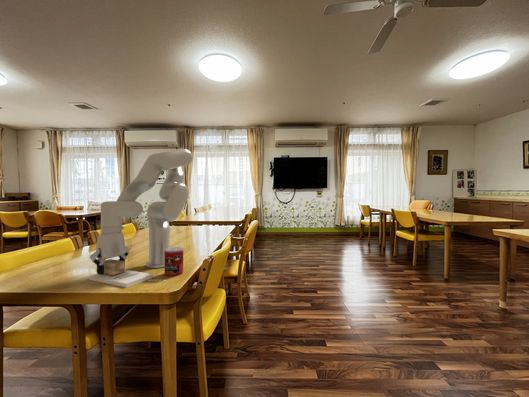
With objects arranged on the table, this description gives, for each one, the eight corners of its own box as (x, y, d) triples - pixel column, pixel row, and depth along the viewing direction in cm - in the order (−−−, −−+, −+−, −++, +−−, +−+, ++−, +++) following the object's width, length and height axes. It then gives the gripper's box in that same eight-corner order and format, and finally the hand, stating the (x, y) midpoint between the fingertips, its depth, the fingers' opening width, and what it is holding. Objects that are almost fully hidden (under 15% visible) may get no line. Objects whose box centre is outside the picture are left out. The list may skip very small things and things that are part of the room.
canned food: (160, 276, 104) (160, 250, 104) (170, 270, 112) (170, 246, 112) (177, 277, 103) (177, 251, 103) (186, 271, 111) (186, 247, 111)
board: (116, 271, 110) (116, 268, 110) (152, 277, 102) (152, 274, 102) (88, 279, 99) (88, 275, 99) (126, 287, 91) (126, 283, 91)
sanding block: (110, 270, 107) (110, 259, 107) (124, 272, 103) (124, 261, 103) (98, 273, 102) (98, 261, 102) (112, 276, 99) (112, 264, 99)
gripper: (124, 227, 112) (124, 265, 112) (83, 232, 96) (83, 276, 96) (135, 228, 109) (135, 266, 109) (96, 233, 93) (96, 278, 93)
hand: (111, 271), depth 103 cm, fingers open, 8 cm apart
